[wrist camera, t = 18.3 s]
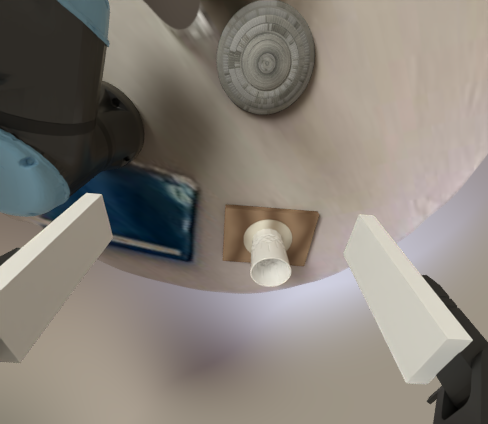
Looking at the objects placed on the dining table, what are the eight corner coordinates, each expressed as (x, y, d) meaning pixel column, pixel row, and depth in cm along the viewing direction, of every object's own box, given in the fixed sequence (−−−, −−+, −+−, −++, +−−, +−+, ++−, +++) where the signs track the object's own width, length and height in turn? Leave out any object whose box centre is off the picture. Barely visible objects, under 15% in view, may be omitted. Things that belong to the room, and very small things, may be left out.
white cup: (263, 220, 53) (266, 251, 44) (291, 236, 55) (300, 269, 46) (242, 243, 56) (242, 276, 48) (270, 258, 58) (274, 292, 50)
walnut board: (223, 256, 61) (222, 261, 59) (225, 204, 53) (225, 208, 51) (302, 261, 61) (304, 267, 60) (317, 211, 53) (319, 216, 52)
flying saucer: (202, 84, 41) (197, 88, 36) (245, -24, 33) (245, -37, 29) (279, 128, 44) (283, 136, 40) (332, 38, 37) (344, 36, 32)
